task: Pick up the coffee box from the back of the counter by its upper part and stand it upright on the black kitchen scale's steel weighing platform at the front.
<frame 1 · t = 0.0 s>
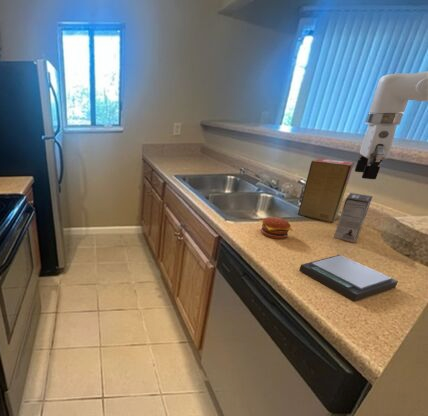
hand: (364, 175, 88), 26 cm above the worktop, tool pointing down, fingers open, 9 cm apart
food packaging: (316, 216, 124), on the worktop
coffee box: (345, 236, 105), on the worktop
scale: (344, 278, 80), on the worktop
hamburger: (273, 234, 108), on the worktop
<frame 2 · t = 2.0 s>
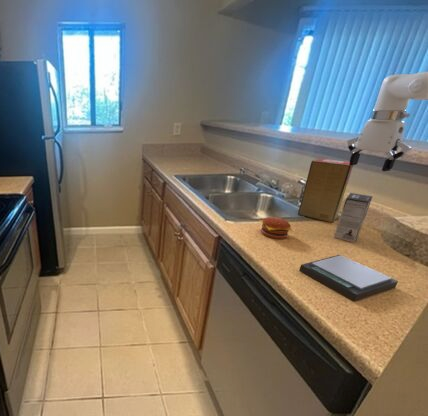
hand: (368, 167, 96), 27 cm above the worktop, tool pointing down, fingers open, 9 cm apart
nothing on the worktop moved.
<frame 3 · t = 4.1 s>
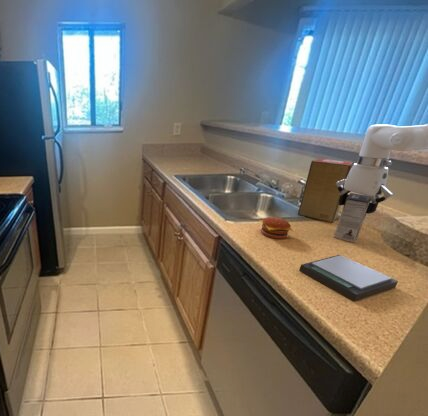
hand: (355, 208, 101), 11 cm above the worktop, tool pointing down, fingers closed on coffee box, 8 cm apart
coffee box: (345, 236, 105), on the worktop, touching gripper
everything else where it was.
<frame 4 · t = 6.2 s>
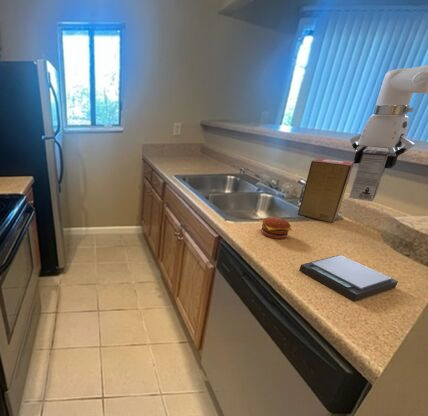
hand: (372, 165, 94), 28 cm above the worktop, tool pointing down, fingers closed on coffee box, 8 cm apart
coffee box: (362, 197, 98), point 16 cm above the worktop, touching gripper
everything else where it was.
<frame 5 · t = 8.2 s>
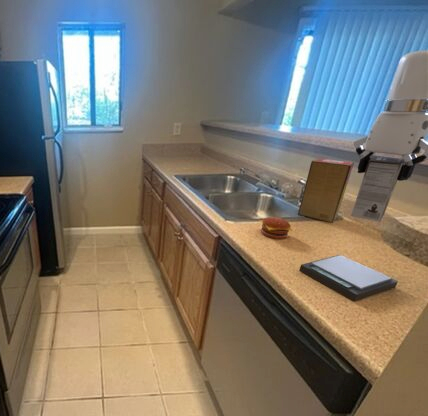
hand: (381, 175, 74), 30 cm above the worktop, tool pointing down, fingers closed on coffee box, 8 cm apart
coffee box: (367, 215, 78), point 18 cm above the worktop, touching gripper
everything else where it was.
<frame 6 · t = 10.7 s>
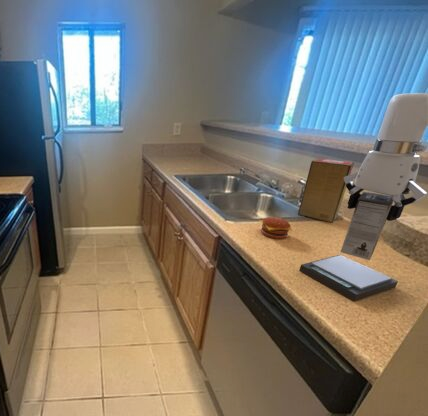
hand: (370, 213, 73), 21 cm above the worktop, tool pointing down, fingers closed on coffee box, 8 cm apart
coffee box: (356, 251, 77), point 9 cm above the worktop, touching gripper
everything else where it was.
when the fingers open (14 cm above the worktop, at t = 12.8 s): coffee box stays where it is, resting on scale.
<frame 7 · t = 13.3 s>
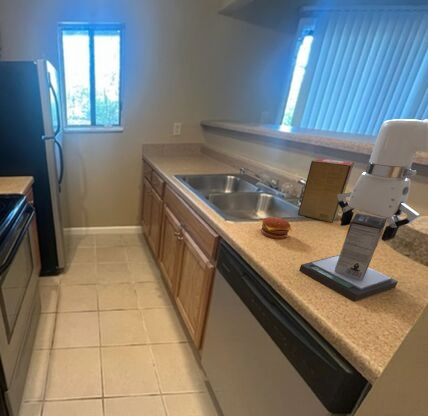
hand: (364, 231, 75), 15 cm above the worktop, tool pointing down, fingers open, 9 cm apart
coffee box: (350, 270, 80), point 3 cm above the worktop, touching scale
everything else where it was.
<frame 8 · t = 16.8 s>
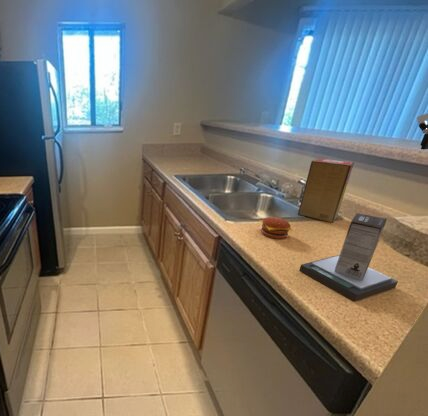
nothing on the worktop moved.
at the end: coffee box inside the target area on the scale (0.1 cm from its centre), point 2.6 cm above the scale's base; coffee box tilted 0°; the gripper is holding nothing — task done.
